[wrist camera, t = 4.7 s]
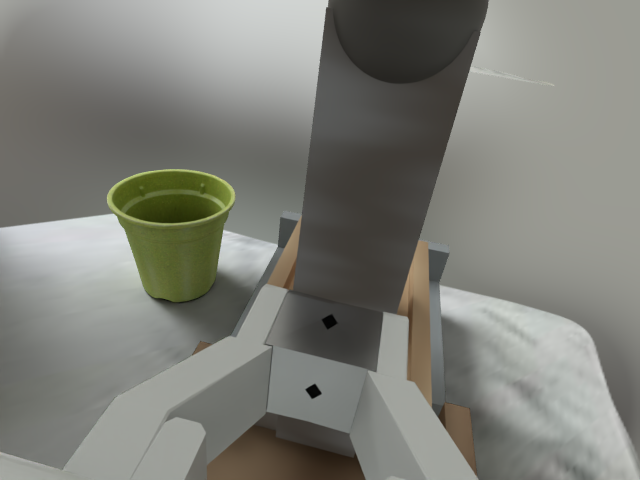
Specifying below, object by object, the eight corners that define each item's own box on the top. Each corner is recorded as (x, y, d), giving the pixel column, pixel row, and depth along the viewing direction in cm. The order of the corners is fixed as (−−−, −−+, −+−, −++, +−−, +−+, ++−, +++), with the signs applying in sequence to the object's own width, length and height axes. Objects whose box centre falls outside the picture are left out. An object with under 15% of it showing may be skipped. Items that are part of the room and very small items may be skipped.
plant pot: (107, 267, 38) (91, 179, 34) (205, 241, 44) (203, 161, 39) (144, 333, 33) (131, 237, 28) (252, 293, 38) (257, 207, 33)
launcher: (196, 449, 16) (166, -139, 7) (291, 251, 28) (325, -68, 19) (423, 511, 15) (722, -66, 6) (422, 280, 27) (526, -39, 18)
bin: (222, 391, 29) (222, 315, 25) (278, 275, 41) (284, 210, 37) (428, 445, 28) (461, 372, 24) (426, 309, 39) (448, 245, 35)
